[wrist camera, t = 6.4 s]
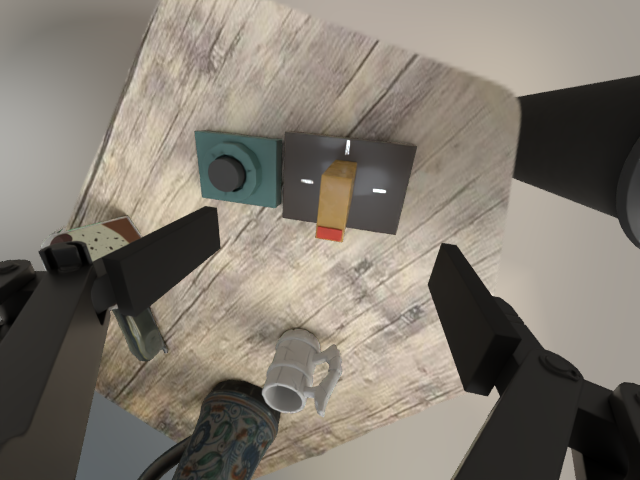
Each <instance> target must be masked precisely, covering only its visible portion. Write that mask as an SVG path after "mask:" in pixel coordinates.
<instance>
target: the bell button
mask: <svg viewBox="0 0 640 480" xmlns="http://www.w3.org/2000/svg"><path fill="white" fill-rule="evenodd" d="M208 176H209V179H210V182H211V183H212V185H213V186H214V187H215V188H217V189H218V190H220V191H223V192H230V191H233V190H235V189H237V188H239V187H240V186H241V185H242V184H243V183H244V180H245V171H244V169H243V167H242V165H241V164H240V163H239V162H238V161H237V160H236V159H234V158H231V157H225V158H220V159H216V160H214V161H213V162H212V163H211V164H210V166H209V168H208Z"/></svg>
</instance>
